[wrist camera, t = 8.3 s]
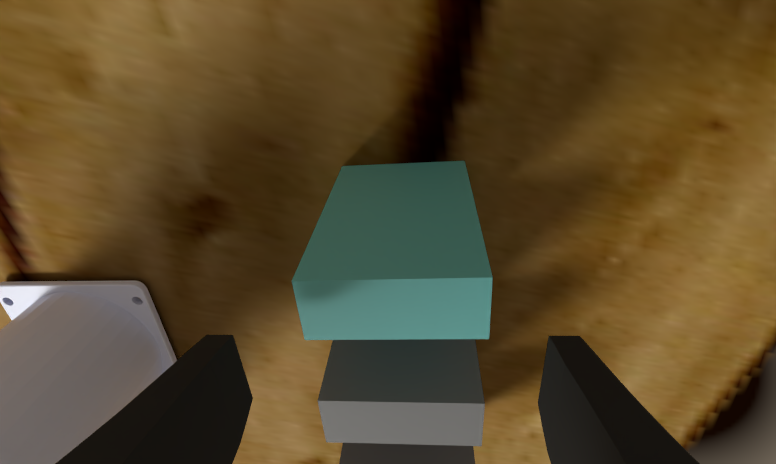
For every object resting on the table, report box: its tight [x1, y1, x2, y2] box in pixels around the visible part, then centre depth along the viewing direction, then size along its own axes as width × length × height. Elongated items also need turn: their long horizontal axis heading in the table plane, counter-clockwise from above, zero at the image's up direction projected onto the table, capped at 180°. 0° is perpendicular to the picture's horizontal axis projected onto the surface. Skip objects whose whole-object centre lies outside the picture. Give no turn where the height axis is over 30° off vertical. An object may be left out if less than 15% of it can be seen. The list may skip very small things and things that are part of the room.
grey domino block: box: [318, 339, 485, 446], centre depth 17 cm, size 2×5×8 cm, turn 93°
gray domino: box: [339, 443, 475, 464], centre depth 19 cm, size 2×5×8 cm, turn 93°
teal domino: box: [292, 161, 493, 340], centre depth 15 cm, size 2×5×8 cm, turn 94°
